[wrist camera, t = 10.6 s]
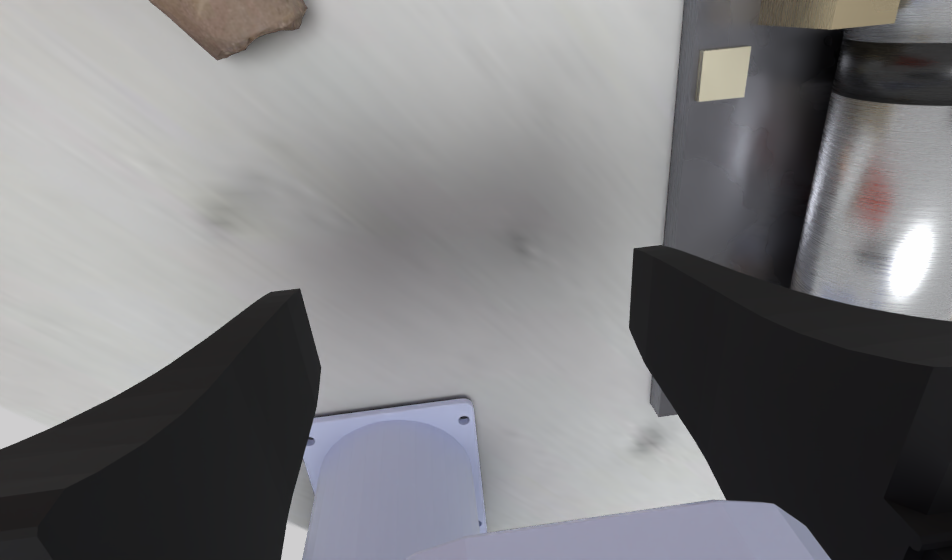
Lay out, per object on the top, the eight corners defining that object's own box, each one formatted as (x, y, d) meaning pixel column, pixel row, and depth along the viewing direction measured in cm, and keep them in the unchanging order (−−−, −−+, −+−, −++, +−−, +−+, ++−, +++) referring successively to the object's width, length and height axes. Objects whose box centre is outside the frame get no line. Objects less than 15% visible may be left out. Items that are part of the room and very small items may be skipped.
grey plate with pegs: (925, 365, 27) (1014, 428, 23) (650, 402, 26) (693, 475, 22) (1141, -215, 17) (1371, -283, 13) (700, -180, 16) (796, -241, 12)
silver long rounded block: (866, 380, 25) (943, 474, 20) (749, 379, 25) (797, 470, 21) (1043, -181, 15) (1269, -258, 11) (851, -158, 16) (981, -220, 11)
